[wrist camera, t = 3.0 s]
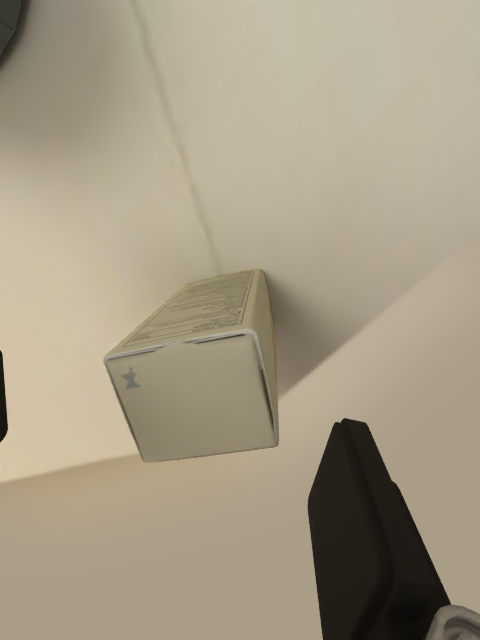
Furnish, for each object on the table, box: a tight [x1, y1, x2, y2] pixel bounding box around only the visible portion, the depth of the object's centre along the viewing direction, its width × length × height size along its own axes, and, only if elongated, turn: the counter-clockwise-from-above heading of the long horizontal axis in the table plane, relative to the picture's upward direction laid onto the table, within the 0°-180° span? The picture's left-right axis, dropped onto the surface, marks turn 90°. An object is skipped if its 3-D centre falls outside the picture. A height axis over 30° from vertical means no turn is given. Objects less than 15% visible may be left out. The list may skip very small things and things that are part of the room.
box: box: [103, 269, 279, 463], centre depth 15 cm, size 5×4×11 cm
